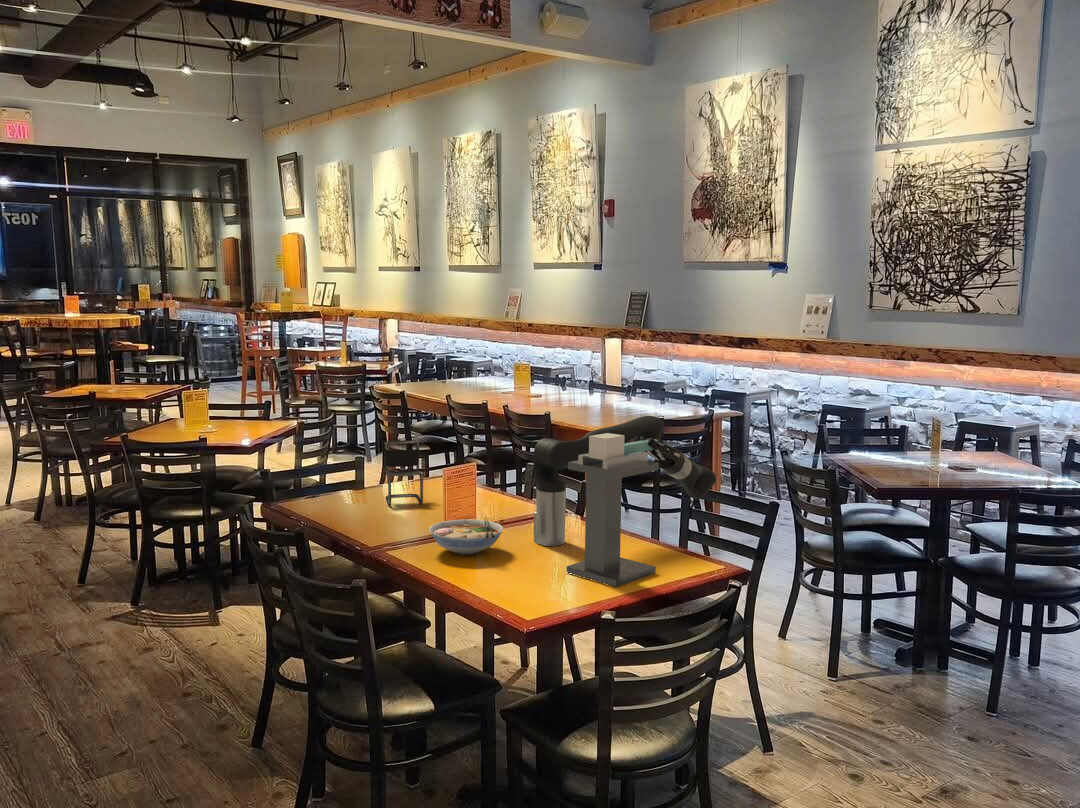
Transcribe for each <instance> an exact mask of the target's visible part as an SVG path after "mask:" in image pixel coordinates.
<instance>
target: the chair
mask: <svg viewBox="0 0 1080 808" xmlns="http://www.w3.org/2000/svg"><path fill="white" fill-rule="evenodd" d="M394 444H415V449H409V450H401V451H399V450H389V445H394ZM384 466H385V467H384V469H385V474H386V477H387V495H386V496H385V501H386V503H387V506H388V507H390V506H391V505H392V498H407V497H408V498H409V497H410V498H411V497H412V498H416V499H417V501H418V503H419V504H420V505H423V503H424V477H423V474H422V471H421V470H420V443H419V441H418V440H414V439H413V440H412V439H411V440H410V439H409V440H386V441H384ZM389 467H392V468H393V467H394V468H397V467H398V468H403V467H404V468H406V467H416V469H412V470H404V471H403V470H400V471H399V470H398V471H397V470H389ZM391 476H393V477H411V476H419V486H420V487H419V490H420V491H419V492H420V493H419V494H416V493H404V494H403V493H400V494H399V493H398V494H392V477H391Z"/></svg>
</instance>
